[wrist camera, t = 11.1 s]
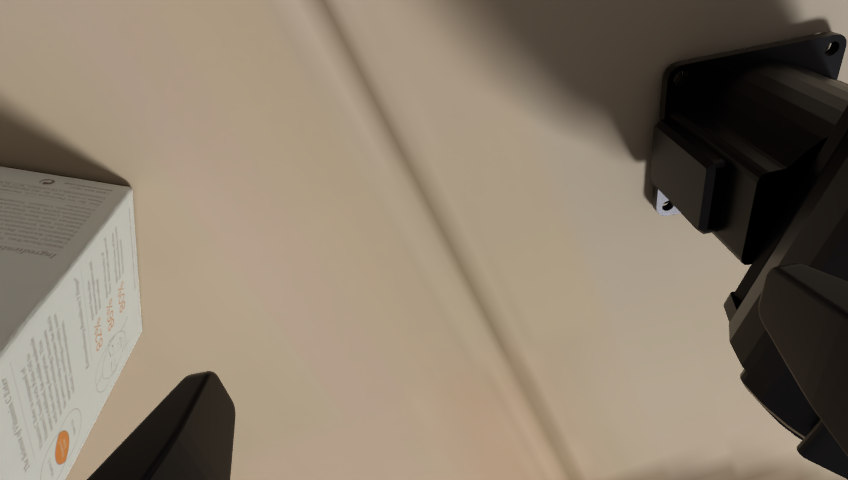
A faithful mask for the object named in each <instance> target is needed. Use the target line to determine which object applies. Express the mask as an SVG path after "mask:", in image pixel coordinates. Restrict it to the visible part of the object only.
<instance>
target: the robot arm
mask: <svg viewBox="0 0 848 480" xmlns="http://www.w3.org/2000/svg"><path fill="white" fill-rule="evenodd" d="M830 43H831V47H830V49H828V50H827V51H826V52H825V49H826V47H827V46H828V45H829V44H830ZM845 48H846V39H845V37H844V36H843V35H841V34H837V33H834V32H826V33H821V34H816V35H810V36H805V37H800V38H795V39H790V40H785V41H780V42H775V43H770V44H765V45H760V46H755V47H750V48H745V49H740V50H735V51H730V52H725V53H719V54H714V55H709V56H704V57H699V58H694V59H689V60H684V61H679V62H676V63H673V64H671V65H670V66H669V67H668V68H667V69H666V70H665V72H664V74H663V79H662V91H661V103H660V115H659V120H658V121H657V123H656V124H655V126H654V133H653V146H652V159H651V172H650V181H651V182H652V183H653V184H654V189H653V201H652V205H653V208H654V209H655V210H656V211H657V212H658V213H659V214H660V215H662V216H667V215H673V214H678V213H682V215H683V216H684V217H685V218H686V219H687V220H688V221H689V222H690V223H691V224H692V225H693V226H694V227H695V228H696V229H697V230H698V231H700V232H701V233H703V234H707V233H713V234H714V235H715V236H716V237H717V238H718V239H719V240H720V241H721V242H722V243H723V244H724V245H725V246H726V247H727V248H728V249H729V250H730V251H731V252H732V253H733V254H734V255H735V256H736V257H737V258H738V259H739V260H740V261H741V262H742V263H743V264H744V265H750V264H752V265H751V266H750V268H749V270H748V271H747V273H746V275H745V276H744V278H743V280H742V281H741V283H740V285H739V286H738V288H737V290H736V291H735V292H731V293H730V295H729V296H728V298H727V300H726V301H725V303H724V308H725V311H726V314H727V317H728V320H729V336H730V343H731V345H732V347H733V349H734V351H735V353H736V355H737V357H738V359H739V361H740V363H741V365H742V366H743V368H744V370H743V372H742V373H741V374H740V378H741V380H742V382H743V384H744V386H745V387H746V389H747V390H748V391H749V392H750V393H751V394H752V395H753V396H754V397H755V398H756V399H757V401H758V402H759V403H760V404H761V405H762V406H763V407H764V408H765V409H766V410H767V411H768V412H769V413H770V414H771V415H772V416H773V417H774V418H775V419H776V420H777V421H778V422H779V423H780V424H781V425H782V426H784V427H785V428H786V429H787V430H789V431H790V432H791V433H793V434H794V435H795V436H796V437H798V438H800V439H801V440H802V441H801V442H800V444H799V445H798V446H797V451H798V452H799V454H800V455H802V456H803V457H804V458H806V459H808V460H810V461H812V462H814V463H816V464H818V465H820V466H822V467H824V468H826V469H828V470H830V471H832V472H834V473H836V474H838V475H840V476H842V477H844V478H846V479H848V84H846V83H844V82H841V81H839V80H837V78H838V74H839V70H840V67H841V63H842V59H843V56H844V52H845ZM679 72H683V75H682V78H681V79H680V80H679V81H677V82H674V78H675V76H676V75H677V74H678V73H679ZM666 201H669V203H668V204H667V205H665V206H663V204H664V203H665V202H666ZM234 426H235V407H234V404H233V401H232V400H231V398H230V396H229V394H228V393H227V391H226V389H225V388H224V386H223V384H222V383H221V381H220V379H219V377H218V376H217V375H216V374H215V373H214V372H212V371H207V372H201V373H196V374H191V375H188V376H186V377H185V378H184V379H183V380H182V381H181V382H180V383H179V384H178V385H177V386H176V387H175V388H174V389H173V390H172V391H171V392H170V393H169V394H168V395H167V397H166V398H165V399H164V400H163V401H162V402H161V403H160V404H159V405H158V406H157V407H156V408H155V409H154V410H153V411H152V412H151V413H150V414H149V415H148V416H147V417H146V418H145V419H144V421H143V422H142V423H141V424H140V425H139V426H138V427H137V428H136V429H135V430H134V431H133V432H132V433H131V434H130V435H129V436H128V437H127V438H126V439H125V440H124V441H123V442H122V444H121V445H120V446H119V447H118V448H117V449H116V450H115V451H114V452H113V453H112V454H111V455H110V456H109V457H108V458H107V459H106V460H105V461H104V462H103V463H102V464H101V465H100V466H99V468H98V469H97V470H96V471H95V472H94V473H93V474H92V475H91V476H90V477H89V478H88V479H87V480H230V475H231V463H232V451H233V438H234Z"/></svg>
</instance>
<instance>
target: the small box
mask: <svg viewBox="0 0 848 480" xmlns="http://www.w3.org/2000/svg"><path fill="white" fill-rule="evenodd" d="M141 333H142V319H141V306H140V291H139V279H138V263H137V249H136V235H135V223H134V207H133V191H132V188H131V187H127V186H120V185H114V184H108V183H101V182H95V181H89V180H83V179H77V178H70V177H63V176H57V175H51V174H45V173H38V172H32V171H26V170H19V169H13V168H7V167H1V166H0V480H65V479H66V477H67V475H68V473H69V471H70V470H71V468H72V466H73V464H74V462H75V460H76V458H77V456H78V454H79V452H80V450H81V448H82V446H83V444H84V442H85V441H86V439H87V437H88V435H89V433H90V431H91V429H92V427H93V425H94V423H95V421H96V419H97V417H98V415H99V413H100V412H101V409H102V407H103V406H104V404H105V402H106V400H107V398H108V396H109V394H110V392H111V390H112V388H113V386H114V384H115V382H116V380H117V379H118V377H119V375H120V373H121V371H122V369H123V367H124V365H125V363H126V361H127V359H128V357H129V355H130V354H131V352H132V350H133V348H134V346H135V344H136V342H137V340H138V338H139V336H140V334H141Z"/></svg>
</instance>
